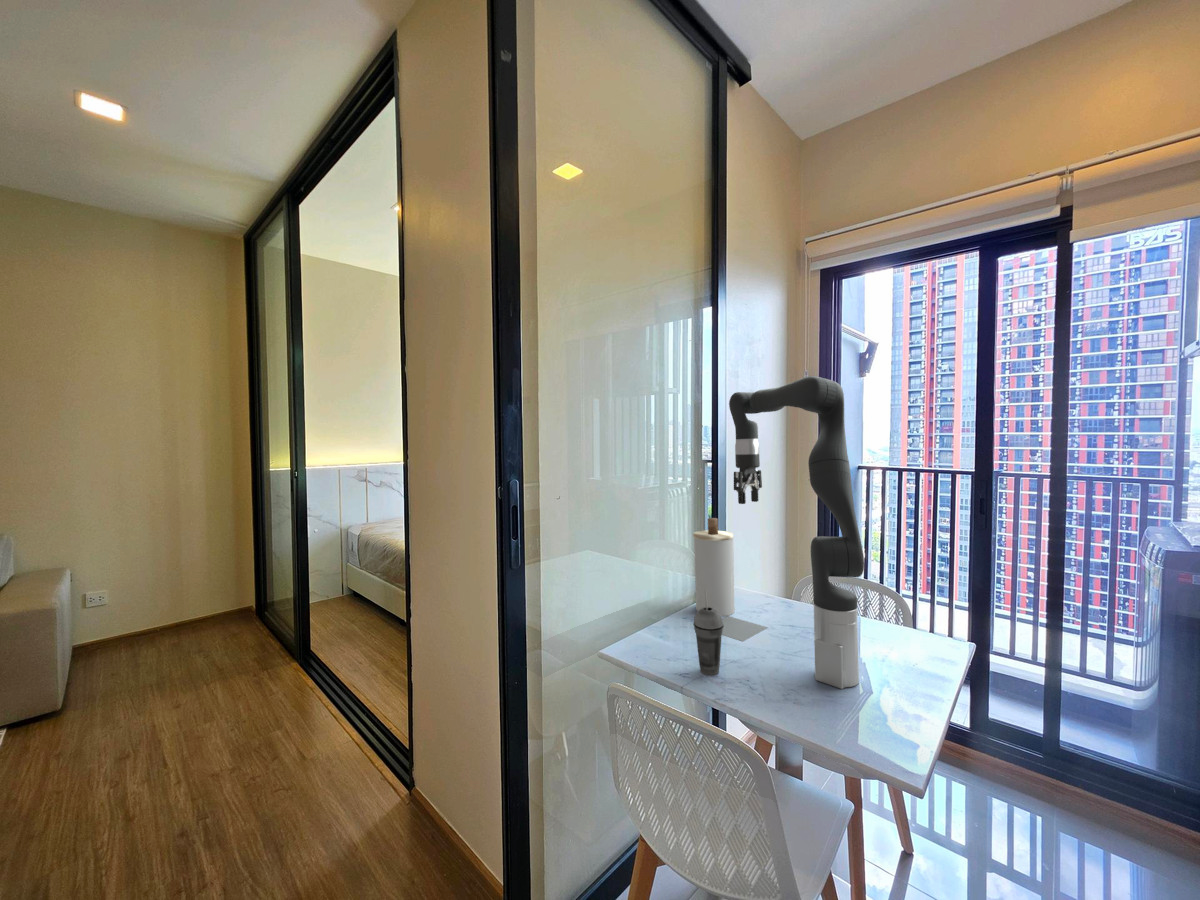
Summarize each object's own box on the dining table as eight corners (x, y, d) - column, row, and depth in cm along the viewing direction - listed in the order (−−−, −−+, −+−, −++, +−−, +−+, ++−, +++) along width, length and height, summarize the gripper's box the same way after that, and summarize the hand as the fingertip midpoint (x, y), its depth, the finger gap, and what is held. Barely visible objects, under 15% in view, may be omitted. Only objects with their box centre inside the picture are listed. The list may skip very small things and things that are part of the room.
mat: (742, 643, 132) (742, 641, 132) (701, 629, 143) (701, 627, 143) (768, 629, 142) (768, 627, 142) (727, 617, 152) (727, 615, 152)
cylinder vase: (711, 602, 167) (709, 531, 166) (742, 611, 157) (740, 536, 157) (688, 611, 159) (686, 536, 159) (719, 621, 149) (717, 542, 149)
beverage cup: (703, 680, 112) (700, 596, 112) (689, 666, 119) (687, 587, 119) (730, 675, 114) (728, 592, 114) (715, 662, 121) (713, 584, 121)
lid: (718, 542, 149) (717, 523, 149) (685, 537, 158) (684, 519, 158) (741, 536, 157) (740, 518, 157) (708, 531, 167) (708, 514, 167)
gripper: (746, 453, 148) (748, 505, 147) (768, 452, 158) (769, 501, 157) (725, 453, 153) (726, 504, 153) (747, 453, 163) (748, 500, 163)
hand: (748, 502), depth 155 cm, fingers open, 8 cm apart
